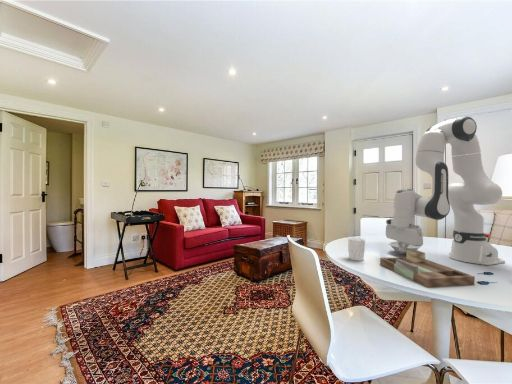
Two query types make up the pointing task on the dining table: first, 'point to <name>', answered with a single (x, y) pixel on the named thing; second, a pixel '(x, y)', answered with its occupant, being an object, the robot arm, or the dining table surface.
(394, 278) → the dining table surface
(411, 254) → the maple block
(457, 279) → the brown wooden compartment tray
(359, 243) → the white cup
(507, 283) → the dining table surface
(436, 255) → the dining table surface
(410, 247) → the dish
